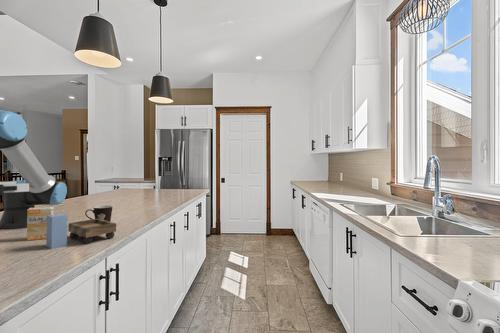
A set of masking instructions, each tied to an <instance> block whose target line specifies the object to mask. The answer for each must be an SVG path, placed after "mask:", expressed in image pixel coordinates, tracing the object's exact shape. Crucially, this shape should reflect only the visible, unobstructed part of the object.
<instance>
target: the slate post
mask: <svg viewBox="0 0 500 333" xmlns="http://www.w3.org/2000/svg"><path fill="white" fill-rule="evenodd" d="M66 245H67V246H68V215H67V214H64V213H58V214H57V213H55V214H54V215H47V239H46V247H47V248H49V249H51V250H54V249H57V248H63V247H67V246H66ZM62 246H63V247H62ZM53 248H54V249H53Z"/></svg>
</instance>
